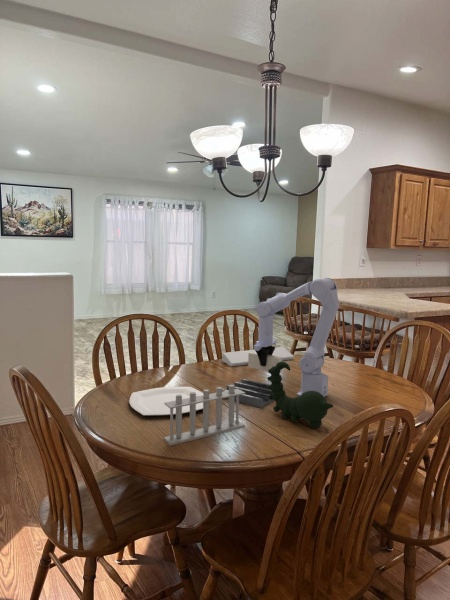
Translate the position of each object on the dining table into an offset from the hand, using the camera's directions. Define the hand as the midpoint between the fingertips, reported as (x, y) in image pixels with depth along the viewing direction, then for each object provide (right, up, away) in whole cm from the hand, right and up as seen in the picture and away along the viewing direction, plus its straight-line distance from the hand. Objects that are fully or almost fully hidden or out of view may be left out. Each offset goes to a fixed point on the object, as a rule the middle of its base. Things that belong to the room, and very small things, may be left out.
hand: (264, 364), depth 171 cm
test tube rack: (-22, -14, -45) cm, 51 cm away
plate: (-36, -11, -21) cm, 43 cm away
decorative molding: (0, -4, +38) cm, 38 cm away
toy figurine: (+8, -13, -35) cm, 38 cm away
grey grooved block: (-6, -10, -13) cm, 17 cm away
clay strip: (0, -2, 0) cm, 2 cm away
